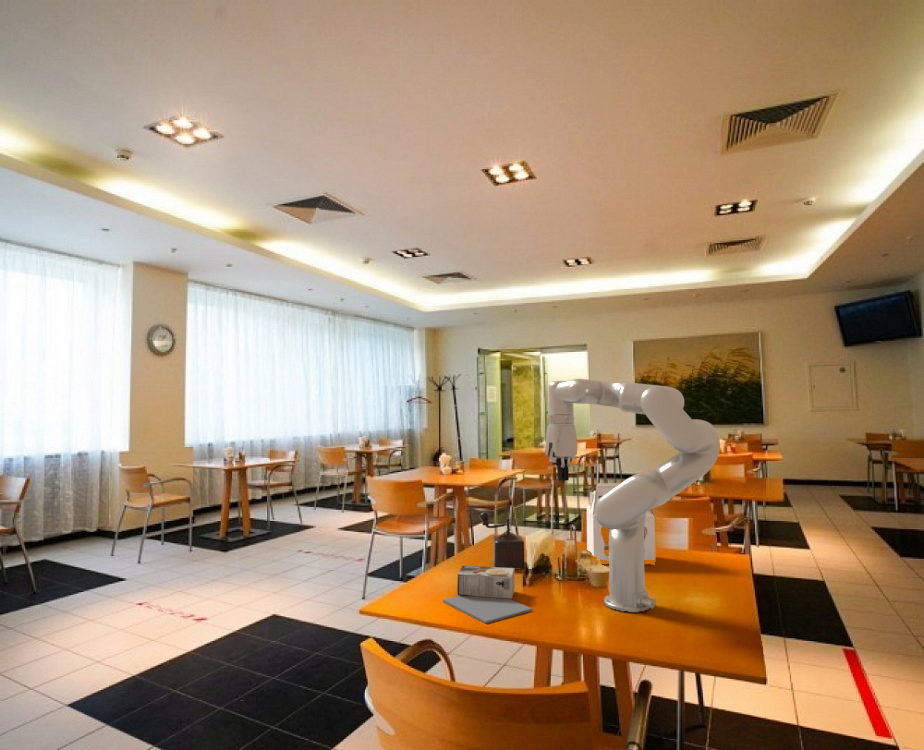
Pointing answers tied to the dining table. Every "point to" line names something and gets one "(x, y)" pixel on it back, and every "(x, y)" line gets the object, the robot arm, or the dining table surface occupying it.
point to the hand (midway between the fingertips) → (563, 480)
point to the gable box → (594, 528)
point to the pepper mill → (506, 546)
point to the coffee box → (486, 582)
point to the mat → (487, 607)
